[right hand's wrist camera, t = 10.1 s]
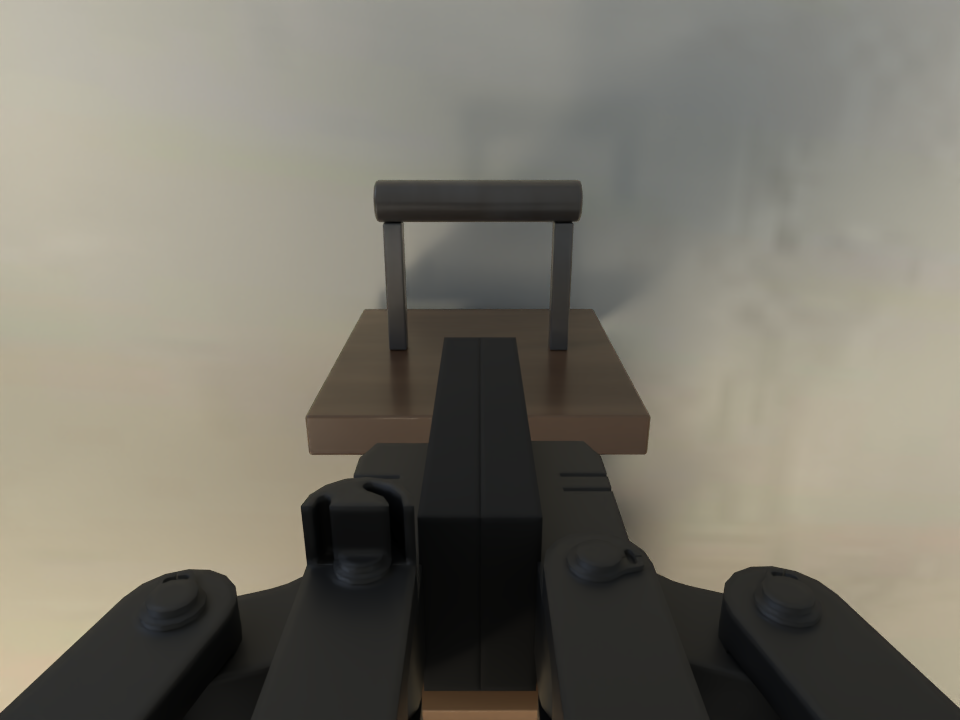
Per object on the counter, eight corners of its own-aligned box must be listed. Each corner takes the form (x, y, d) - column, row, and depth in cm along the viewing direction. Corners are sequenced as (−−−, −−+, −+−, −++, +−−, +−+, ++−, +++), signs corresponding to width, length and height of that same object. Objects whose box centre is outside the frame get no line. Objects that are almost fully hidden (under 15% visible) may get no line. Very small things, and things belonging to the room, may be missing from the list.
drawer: (354, 166, 26) (282, 205, 16) (602, 166, 26) (672, 205, 16) (383, 615, 33) (345, 818, 24) (574, 615, 33) (611, 818, 24)
